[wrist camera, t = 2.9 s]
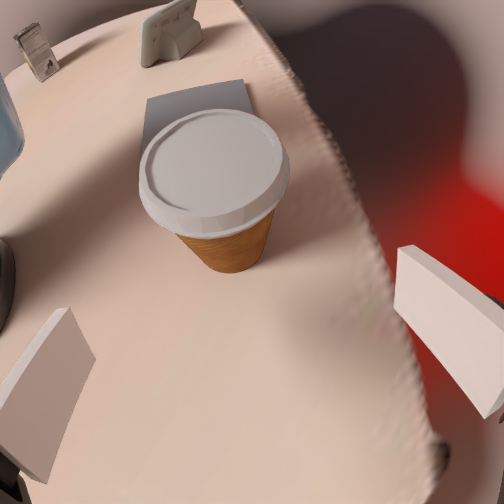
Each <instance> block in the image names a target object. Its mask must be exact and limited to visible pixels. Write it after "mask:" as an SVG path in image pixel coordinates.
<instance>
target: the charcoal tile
mask: <svg viewBox="0 0 504 504" xmlns="http://www.w3.org/2000/svg"><path fill="white" fill-rule="evenodd" d="M212 109H231V110H239V111H242V112H245V113H249V114H252V115H254V112H253V109H252V106H251V103H250V100H249V96H248V93H247V90H246V87H245V84H244V81H243V79H240V80H233V81H227V82H221V83H215V84H209V85H204V86H199V87H194V88H190V89H185V90H181V91H176V92H172V93H168V94H164V95H160V96H157V97H153V98H149V99H147V105H146V112H145V121H144V130H143V140H142V151H141V159H142V156H143V154H144V151H145V150H146V148H147V146H148V145H149V143H150V142H151V141H152V139H153V138H154V137H155V136H156V135H157V134H158V133H159V132H160V131H161V130H162V129H164V128H165V127H167V126H168V125H170V124H171V123H172V122H174V121H176V120H178V119H181V118H183V117H185V116H187V115H190V114H192V113H196V112H200V111H204V110H212Z"/></svg>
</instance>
